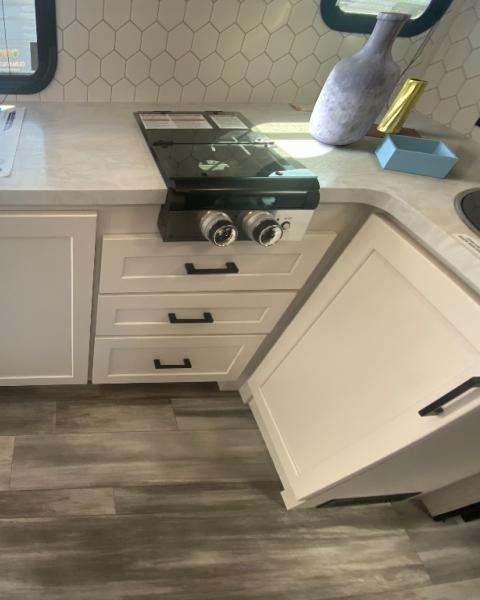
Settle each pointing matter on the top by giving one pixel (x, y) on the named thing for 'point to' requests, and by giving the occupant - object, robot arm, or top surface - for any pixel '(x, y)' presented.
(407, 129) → the mat
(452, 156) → the crate
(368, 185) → the top surface
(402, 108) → the vase
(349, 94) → the vase
